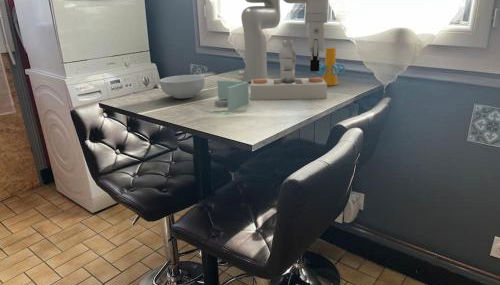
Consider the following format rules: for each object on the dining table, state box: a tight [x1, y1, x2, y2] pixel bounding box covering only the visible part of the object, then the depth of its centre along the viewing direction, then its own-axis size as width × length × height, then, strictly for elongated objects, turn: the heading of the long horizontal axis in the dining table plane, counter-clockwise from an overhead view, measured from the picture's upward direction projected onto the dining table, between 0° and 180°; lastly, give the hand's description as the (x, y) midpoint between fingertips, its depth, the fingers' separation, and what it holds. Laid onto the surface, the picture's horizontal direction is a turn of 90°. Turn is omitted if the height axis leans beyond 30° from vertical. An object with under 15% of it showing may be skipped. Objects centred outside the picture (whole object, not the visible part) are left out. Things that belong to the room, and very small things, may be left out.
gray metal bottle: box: [278, 39, 297, 84], centre depth 142 cm, size 6×7×20 cm
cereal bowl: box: [159, 74, 206, 99], centre depth 148 cm, size 17×17×7 cm
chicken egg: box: [253, 79, 267, 84], centre depth 144 cm, size 5×5×6 cm
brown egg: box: [309, 76, 323, 82], centre depth 143 cm, size 5×5×6 cm
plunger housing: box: [249, 77, 328, 101], centre depth 144 cm, size 27×14×5 cm, turn 87°
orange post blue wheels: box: [315, 47, 346, 87], centre depth 160 cm, size 12×10×15 cm
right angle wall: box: [214, 79, 250, 112], centre depth 131 cm, size 12×12×8 cm
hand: (314, 70), depth 142 cm, fingers closed
